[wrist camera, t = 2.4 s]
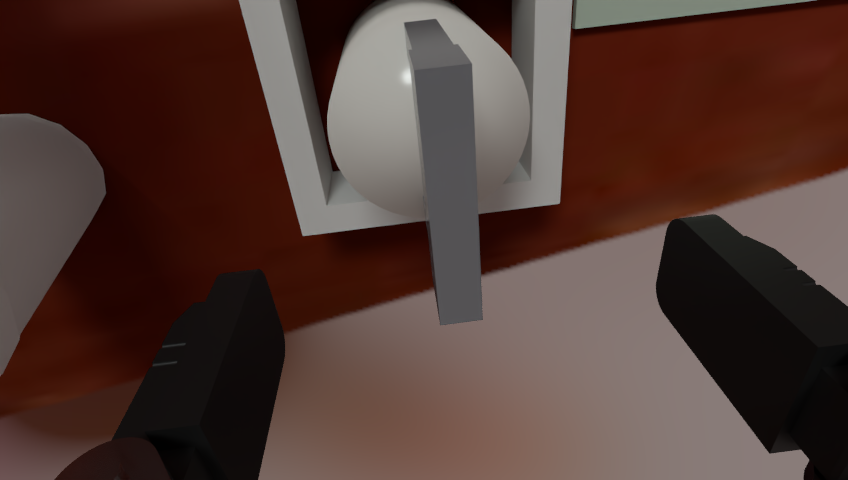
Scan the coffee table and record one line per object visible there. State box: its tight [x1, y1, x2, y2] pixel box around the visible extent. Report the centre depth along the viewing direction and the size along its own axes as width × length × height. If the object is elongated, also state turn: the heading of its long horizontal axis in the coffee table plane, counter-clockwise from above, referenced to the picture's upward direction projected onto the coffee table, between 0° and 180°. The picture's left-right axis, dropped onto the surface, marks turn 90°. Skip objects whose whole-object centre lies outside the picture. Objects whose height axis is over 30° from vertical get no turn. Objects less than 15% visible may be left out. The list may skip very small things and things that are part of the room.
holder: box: [239, 0, 572, 236], centre depth 23 cm, size 13×13×4 cm
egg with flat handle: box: [327, 0, 530, 325], centre depth 18 cm, size 7×7×15 cm
